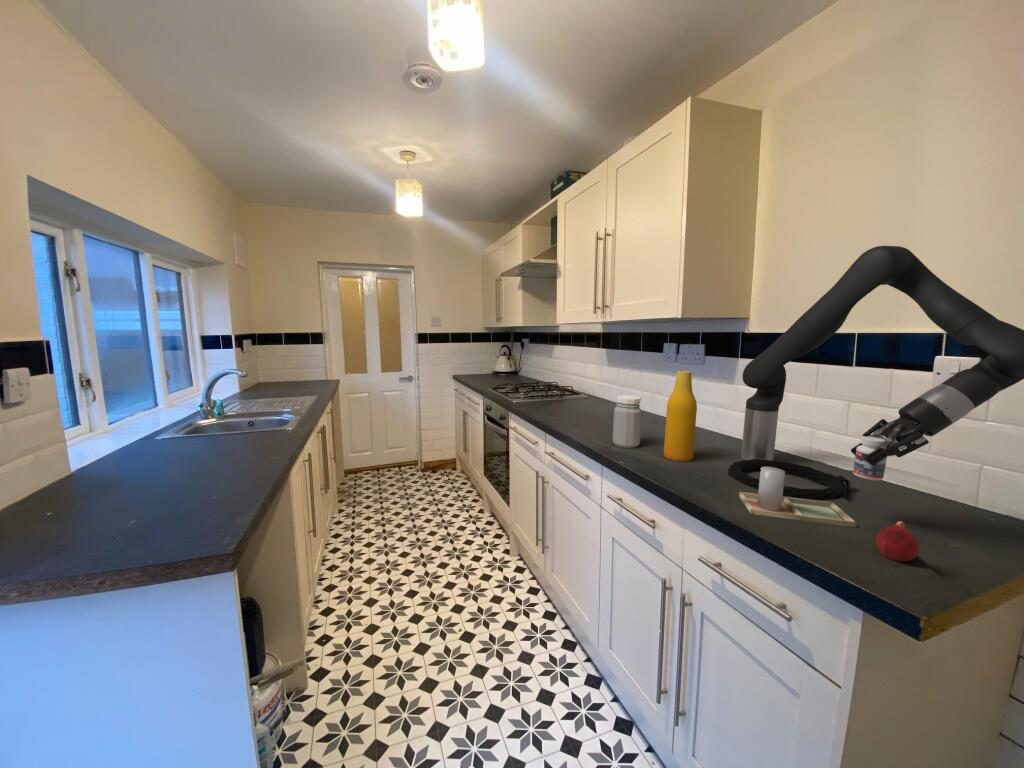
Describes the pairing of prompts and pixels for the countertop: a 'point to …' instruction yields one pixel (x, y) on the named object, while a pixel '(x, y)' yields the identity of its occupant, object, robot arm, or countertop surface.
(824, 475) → the cable lock
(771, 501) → the grey tube
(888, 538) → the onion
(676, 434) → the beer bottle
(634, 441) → the jar
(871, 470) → the pill bottle
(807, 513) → the divided tray
